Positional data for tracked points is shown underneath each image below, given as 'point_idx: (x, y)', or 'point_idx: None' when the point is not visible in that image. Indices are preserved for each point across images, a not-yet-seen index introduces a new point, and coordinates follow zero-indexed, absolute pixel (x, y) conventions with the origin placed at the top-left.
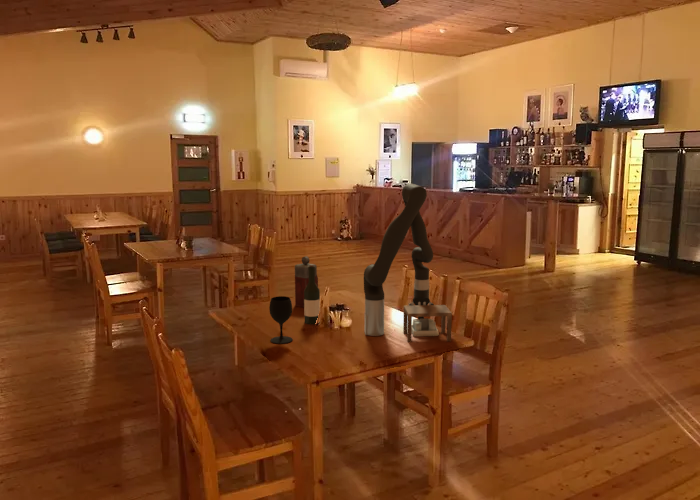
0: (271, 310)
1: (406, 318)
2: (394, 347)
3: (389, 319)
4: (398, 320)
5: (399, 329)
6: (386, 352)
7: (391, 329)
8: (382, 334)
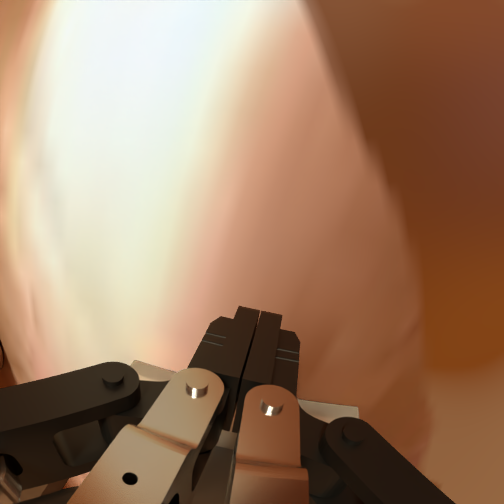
0: None
1: (52, 489)
2: (77, 481)
3: (38, 13)
4: (90, 31)
5: (61, 317)
6: (64, 487)
7: (19, 296)
8: (1, 366)
